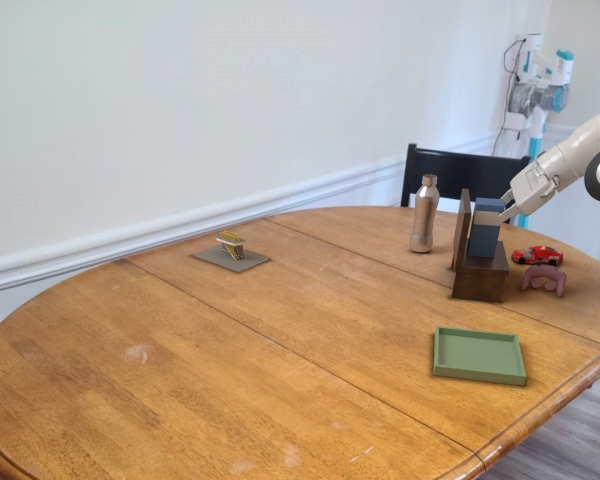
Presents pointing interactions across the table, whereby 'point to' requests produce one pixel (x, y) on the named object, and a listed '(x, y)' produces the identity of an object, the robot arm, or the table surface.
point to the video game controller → (545, 271)
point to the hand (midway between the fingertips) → (498, 212)
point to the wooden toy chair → (476, 263)
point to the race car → (538, 255)
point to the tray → (478, 355)
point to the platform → (231, 253)
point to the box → (485, 227)
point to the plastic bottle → (424, 215)
